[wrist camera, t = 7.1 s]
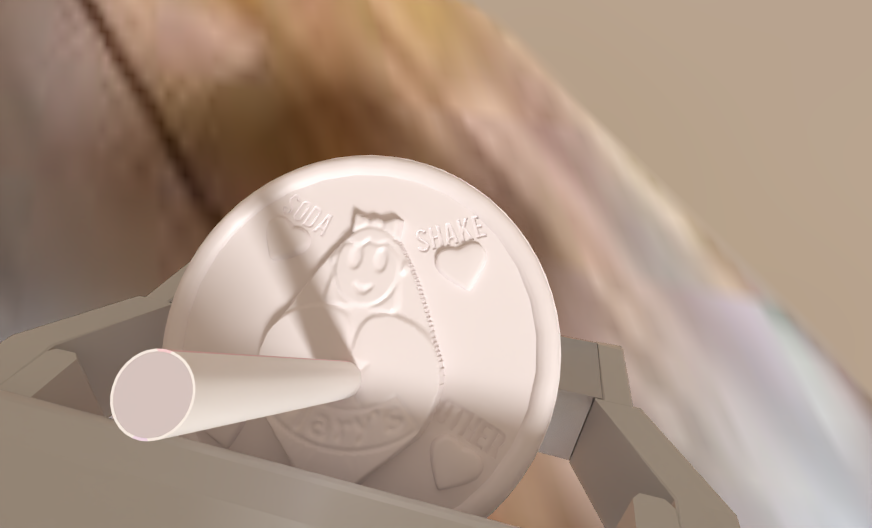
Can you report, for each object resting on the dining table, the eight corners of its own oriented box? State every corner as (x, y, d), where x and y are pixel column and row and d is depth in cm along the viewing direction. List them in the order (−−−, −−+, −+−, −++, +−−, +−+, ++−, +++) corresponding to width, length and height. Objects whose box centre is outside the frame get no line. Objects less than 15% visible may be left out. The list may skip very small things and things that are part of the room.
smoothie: (318, 436, 16) (-470, 759, 3) (354, 257, 18) (-66, -120, 4) (503, 471, 16) (665, 1161, 2) (527, 281, 17) (726, -83, 3)
